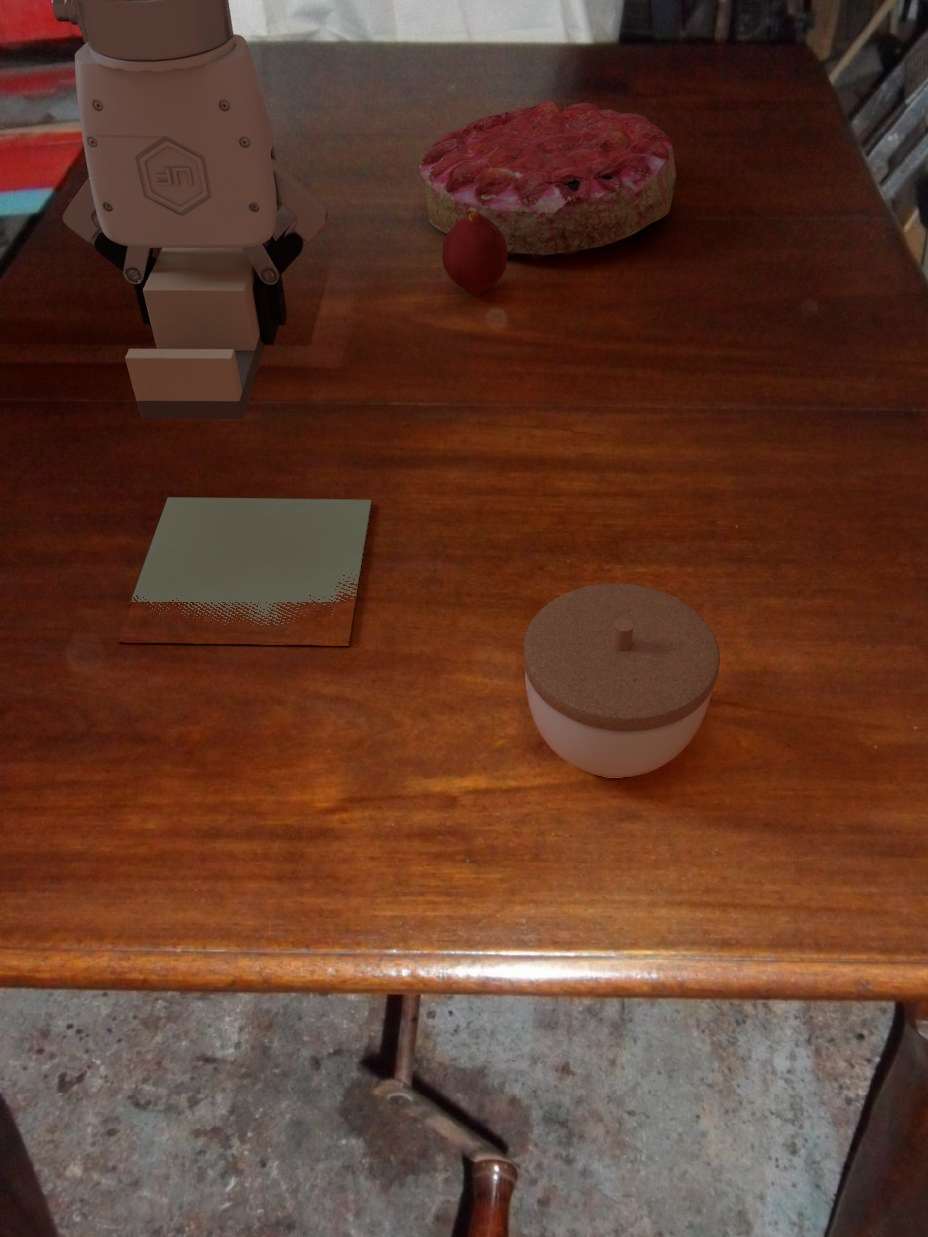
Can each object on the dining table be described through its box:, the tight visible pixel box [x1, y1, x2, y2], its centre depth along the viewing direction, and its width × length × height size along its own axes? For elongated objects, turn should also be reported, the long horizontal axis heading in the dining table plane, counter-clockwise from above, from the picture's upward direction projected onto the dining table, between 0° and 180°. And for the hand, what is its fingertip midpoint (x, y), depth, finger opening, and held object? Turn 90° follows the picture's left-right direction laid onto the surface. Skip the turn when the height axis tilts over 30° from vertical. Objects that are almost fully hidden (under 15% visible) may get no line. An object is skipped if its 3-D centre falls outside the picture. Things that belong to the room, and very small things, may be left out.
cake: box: [418, 101, 677, 259], centre depth 114 cm, size 25×25×8 cm
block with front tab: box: [124, 248, 266, 420], centre depth 71 cm, size 15×6×5 cm, turn 179°
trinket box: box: [522, 582, 721, 778], centre depth 65 cm, size 11×11×9 cm
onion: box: [441, 208, 508, 296], centre depth 103 cm, size 6×6×8 cm
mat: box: [130, 496, 373, 626], centre depth 79 cm, size 15×15×1 cm
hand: (218, 331), depth 73 cm, fingers closed on block with front tab, 6 cm apart
